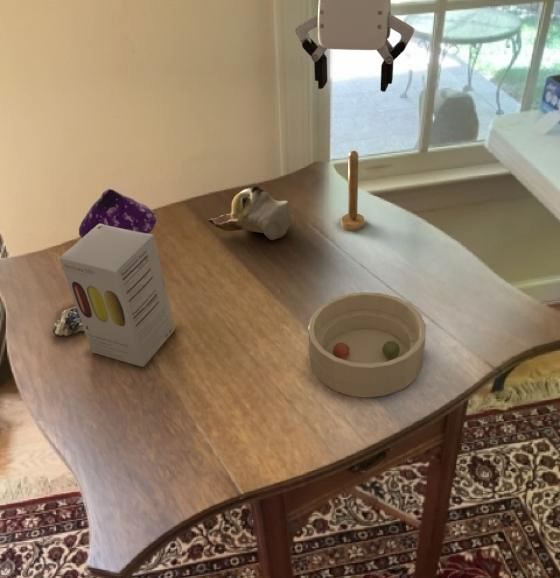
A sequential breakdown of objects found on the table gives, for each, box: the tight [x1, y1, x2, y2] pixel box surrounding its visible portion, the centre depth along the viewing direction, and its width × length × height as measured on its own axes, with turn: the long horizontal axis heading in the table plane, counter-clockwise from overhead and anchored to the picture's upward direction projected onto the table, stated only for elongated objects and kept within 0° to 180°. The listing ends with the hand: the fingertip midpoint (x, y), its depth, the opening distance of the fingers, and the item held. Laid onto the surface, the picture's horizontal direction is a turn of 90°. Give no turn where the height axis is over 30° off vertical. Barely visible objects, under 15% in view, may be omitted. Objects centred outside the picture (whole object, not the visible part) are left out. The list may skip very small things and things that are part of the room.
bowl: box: [307, 291, 427, 398], centre depth 90 cm, size 15×15×6 cm
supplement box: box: [59, 224, 176, 368], centre depth 92 cm, size 10×9×17 cm
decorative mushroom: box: [78, 188, 157, 239], centre depth 106 cm, size 12×12×15 cm
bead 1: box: [333, 343, 350, 360], centre depth 91 cm, size 2×2×2 cm
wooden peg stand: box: [340, 150, 365, 232], centre depth 112 cm, size 4×4×14 cm
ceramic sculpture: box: [207, 185, 292, 241], centre depth 115 cm, size 11×9×15 cm
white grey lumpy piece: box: [51, 305, 85, 337], centre depth 102 cm, size 7×8×2 cm
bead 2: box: [382, 341, 400, 359], centre depth 90 cm, size 2×2×2 cm
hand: (353, 86), depth 101 cm, fingers open, 9 cm apart
